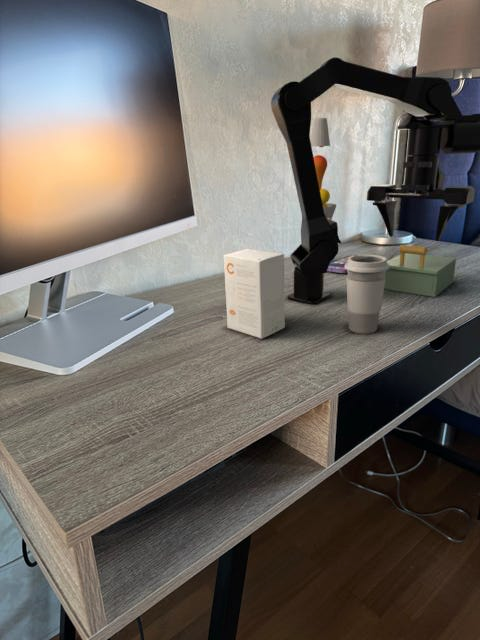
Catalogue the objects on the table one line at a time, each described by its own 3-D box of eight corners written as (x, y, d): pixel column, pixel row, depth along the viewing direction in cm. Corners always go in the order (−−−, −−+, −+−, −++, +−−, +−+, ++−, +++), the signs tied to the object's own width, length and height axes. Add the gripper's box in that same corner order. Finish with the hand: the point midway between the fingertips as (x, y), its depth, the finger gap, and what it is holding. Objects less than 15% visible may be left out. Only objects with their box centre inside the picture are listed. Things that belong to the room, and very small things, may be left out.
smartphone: (318, 270, 110) (348, 258, 121) (345, 274, 106) (374, 261, 116) (318, 266, 110) (348, 255, 120) (345, 270, 105) (374, 258, 115)
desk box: (434, 297, 88) (437, 274, 87) (379, 288, 95) (381, 266, 93) (453, 282, 97) (456, 261, 95) (401, 274, 104) (403, 255, 102)
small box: (285, 328, 76) (285, 253, 72) (261, 339, 72) (259, 261, 67) (250, 317, 81) (248, 247, 77) (226, 328, 77) (222, 254, 73)
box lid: (436, 274, 86) (439, 250, 84) (380, 267, 93) (382, 244, 91) (456, 260, 95) (459, 239, 94) (403, 254, 102) (405, 234, 100)
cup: (364, 318, 79) (369, 251, 75) (393, 330, 74) (399, 259, 69) (333, 326, 76) (335, 257, 72) (360, 339, 71) (364, 266, 66)
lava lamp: (292, 262, 119) (293, 119, 106) (318, 257, 123) (321, 119, 110) (315, 269, 111) (319, 116, 99) (341, 263, 116) (348, 116, 103)
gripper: (487, 152, 83) (474, 236, 89) (390, 154, 94) (384, 228, 100) (472, 154, 75) (459, 246, 81) (368, 156, 86) (363, 236, 92)
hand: (413, 238), depth 89 cm, fingers open, 9 cm apart
